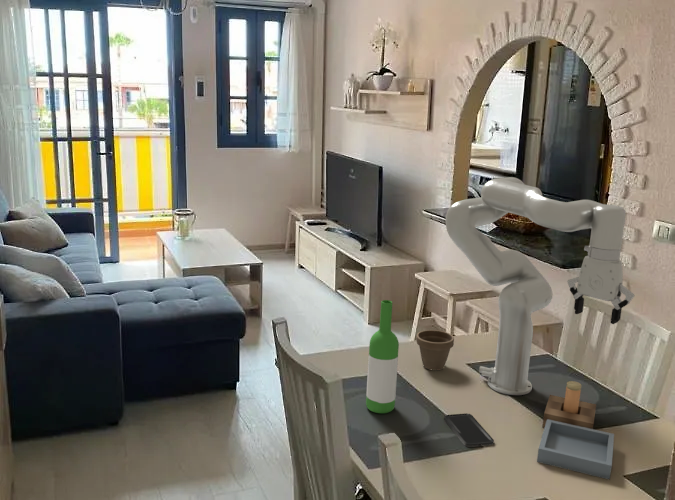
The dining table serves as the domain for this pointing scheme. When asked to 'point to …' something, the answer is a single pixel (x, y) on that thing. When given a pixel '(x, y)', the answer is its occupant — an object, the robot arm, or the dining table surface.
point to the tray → (576, 448)
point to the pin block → (557, 414)
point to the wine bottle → (382, 364)
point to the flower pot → (434, 348)
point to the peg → (572, 397)
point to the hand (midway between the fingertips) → (596, 317)
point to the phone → (468, 430)
